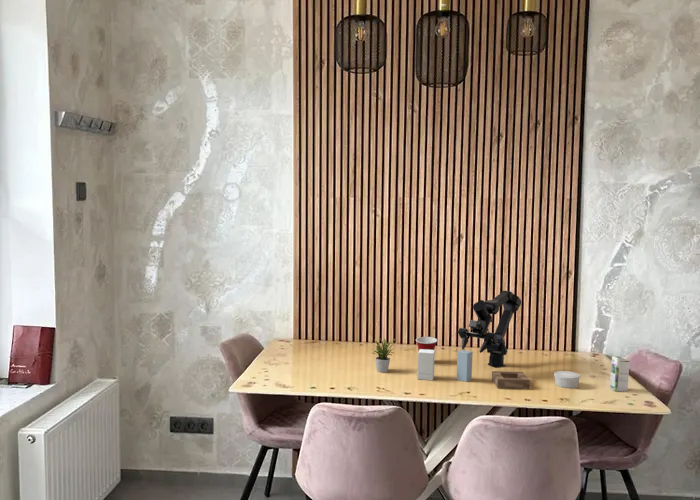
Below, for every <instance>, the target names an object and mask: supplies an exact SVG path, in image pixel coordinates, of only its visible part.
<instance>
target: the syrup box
mask: <svg viewBox="0 0 700 500" xmlns="http://www.w3.org/2000/svg"><path fill="white" fill-rule="evenodd" d="M629 371H630V359H629V358H627V357H625V356H620V355H613V356H611V366H610V377H609V379H610V380H609V389H610V390H612V391H615V392H628V391H629V389H628V388H629V374H630V373H629Z"/></svg>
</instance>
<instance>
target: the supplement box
mask: <svg viewBox="0 0 700 500" xmlns="http://www.w3.org/2000/svg"><path fill="white" fill-rule="evenodd" d="M435 353H436V351H435V349H434V350H427V349H419V351H418V353H417V375H416V376H417V377H416V378H417V380H421V381H422V380H424V381H434V376H435V358H436V356H435Z"/></svg>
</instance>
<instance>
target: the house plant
mask: <svg viewBox="0 0 700 500" xmlns="http://www.w3.org/2000/svg"><path fill="white" fill-rule="evenodd" d="M396 340H397V339H395V338H394V339H392V340H391V341H387V340H386V338H385V337H383V339H380V341H381V345H380V343H379V342H378V340H377V339H374V341H375V343H376V345H375V347H376V349H373V348H371V351H373V352H372V354H373V355H377V356H375V365H376V366H375V367H376V372H378V373H388V372H389V366H390V362H391V357H388V356H393V355H394V354H395V352H393V350H394V349H396V348H392V347H393V346H394V345H396V342H394V341H396ZM393 342H394V343H393ZM369 343H370V344H373V343H372V342H370V341H369ZM373 345H374V344H373ZM389 346H390V347H389ZM392 354H393V355H392Z"/></svg>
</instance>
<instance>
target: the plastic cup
mask: <svg viewBox="0 0 700 500" xmlns="http://www.w3.org/2000/svg"><path fill="white" fill-rule="evenodd" d="M415 341H416V344H417V350H418V352H419V349H427V350H435V349H436V345H437V342H438V339H437V338H436V337H432V336H422V337H421V336H419V337H417V338H416V339H415Z"/></svg>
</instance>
